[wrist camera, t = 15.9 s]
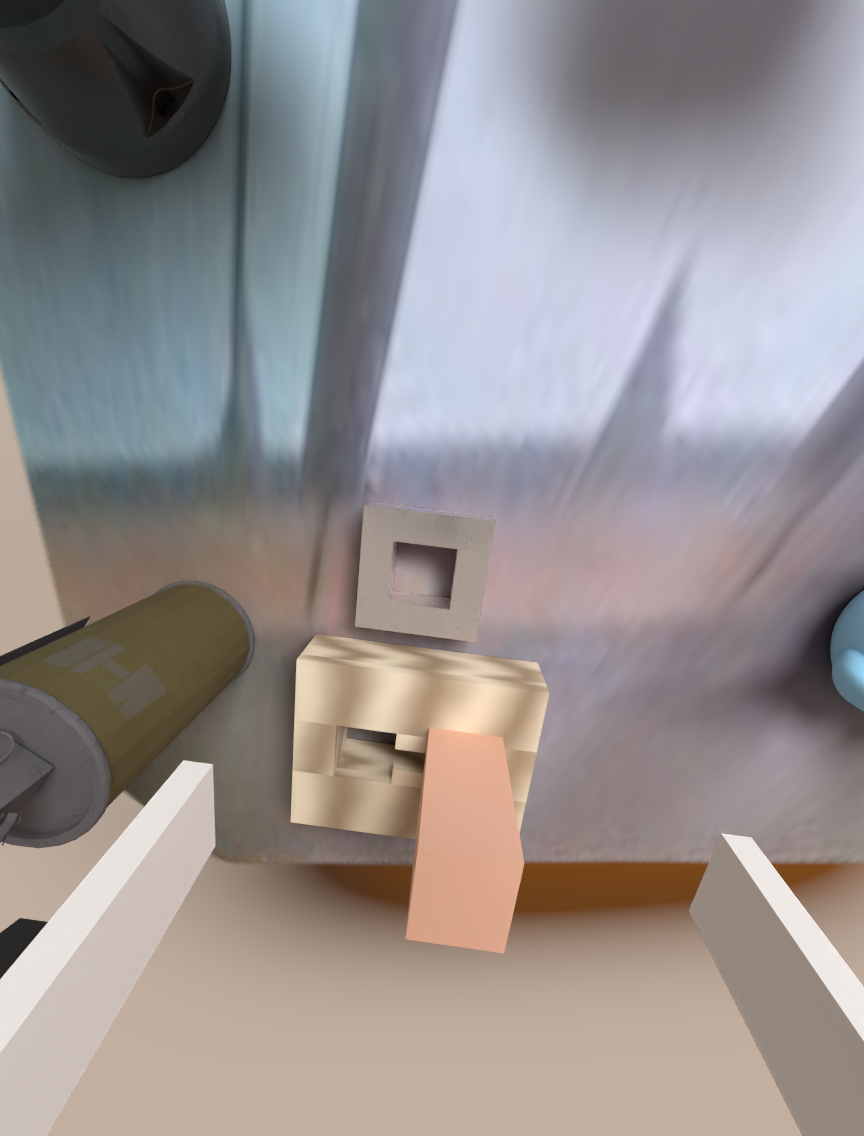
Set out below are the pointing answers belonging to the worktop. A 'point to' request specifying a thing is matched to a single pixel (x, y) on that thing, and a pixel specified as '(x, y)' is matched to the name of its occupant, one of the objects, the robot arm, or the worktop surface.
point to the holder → (418, 610)
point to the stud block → (465, 845)
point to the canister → (108, 705)
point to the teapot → (849, 652)
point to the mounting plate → (400, 726)
